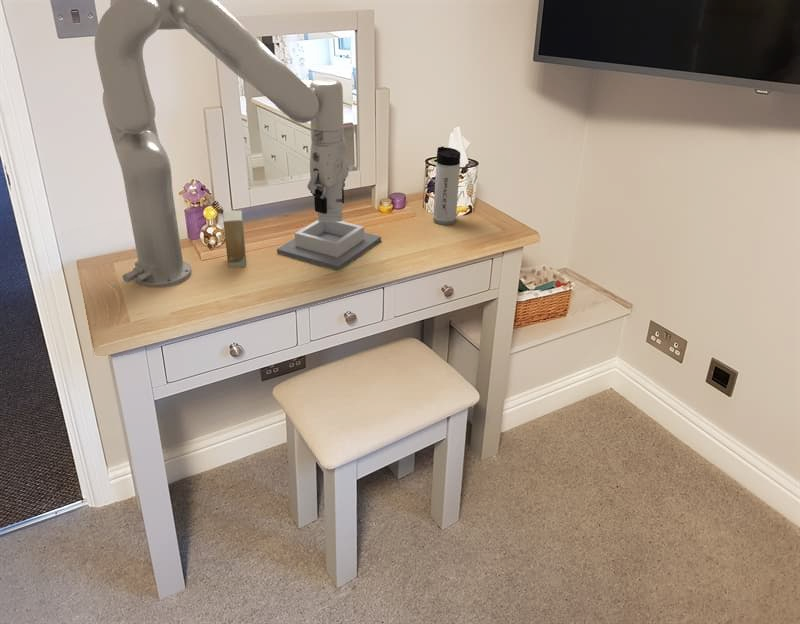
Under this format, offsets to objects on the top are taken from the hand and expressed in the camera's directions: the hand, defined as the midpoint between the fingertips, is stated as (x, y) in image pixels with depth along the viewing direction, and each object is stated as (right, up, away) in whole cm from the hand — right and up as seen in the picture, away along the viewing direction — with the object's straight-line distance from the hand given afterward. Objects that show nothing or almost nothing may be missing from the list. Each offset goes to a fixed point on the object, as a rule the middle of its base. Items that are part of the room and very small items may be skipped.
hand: (329, 206), depth 169 cm
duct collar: (0, -9, +5) cm, 11 cm away
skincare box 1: (-22, -14, -3) cm, 26 cm away
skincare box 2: (0, -3, +2) cm, 3 cm away
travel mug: (+29, -1, +22) cm, 37 cm away
